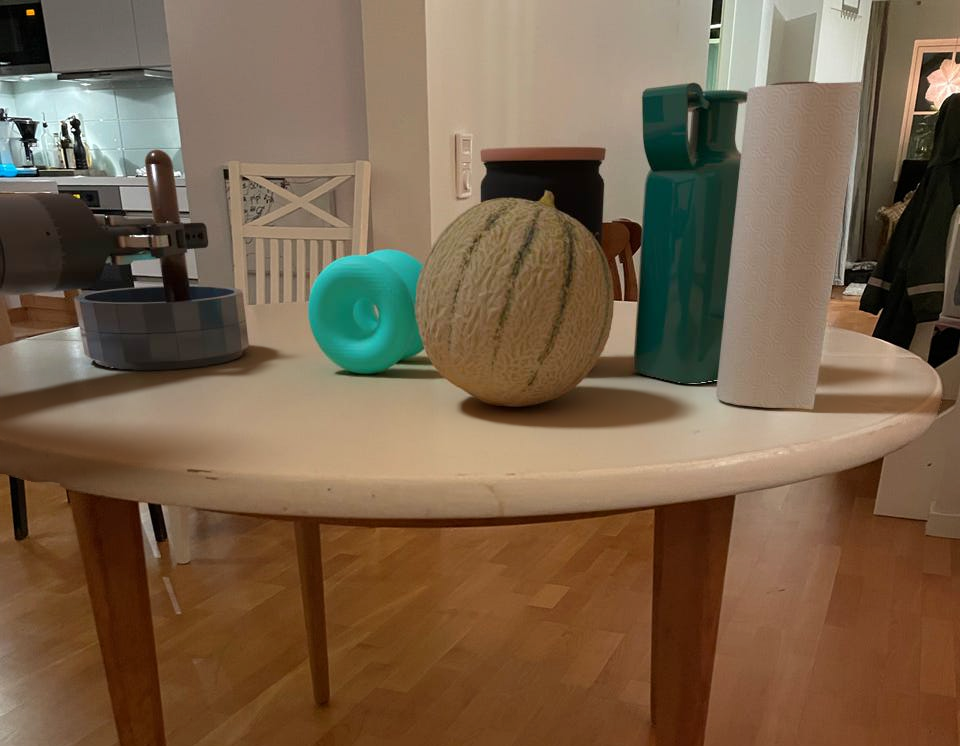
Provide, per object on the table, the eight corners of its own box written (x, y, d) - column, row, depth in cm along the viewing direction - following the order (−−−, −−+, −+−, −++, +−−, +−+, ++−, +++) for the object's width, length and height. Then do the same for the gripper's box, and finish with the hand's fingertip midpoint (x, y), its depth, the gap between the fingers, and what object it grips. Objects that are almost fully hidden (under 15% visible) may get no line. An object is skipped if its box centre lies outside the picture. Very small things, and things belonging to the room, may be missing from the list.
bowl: (58, 371, 86) (44, 303, 83) (125, 344, 100) (115, 285, 97) (222, 372, 85) (213, 303, 82) (267, 344, 99) (260, 285, 96)
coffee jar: (512, 381, 79) (513, 146, 71) (463, 362, 88) (460, 150, 80) (617, 371, 83) (630, 146, 75) (561, 353, 92) (567, 150, 84)
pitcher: (691, 362, 87) (716, 93, 77) (760, 376, 81) (796, 85, 71) (611, 373, 82) (627, 89, 73) (677, 389, 76) (704, 80, 66)
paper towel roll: (706, 393, 75) (736, 87, 65) (779, 392, 75) (820, 87, 65) (733, 413, 68) (771, 77, 59) (813, 412, 68) (864, 77, 59)
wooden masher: (144, 351, 88) (110, 148, 81) (166, 341, 94) (137, 150, 86) (205, 351, 88) (177, 148, 80) (224, 341, 93) (200, 150, 86)
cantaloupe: (379, 407, 71) (367, 192, 64) (500, 378, 81) (501, 189, 74) (529, 437, 62) (534, 192, 56) (645, 401, 72) (660, 189, 65)
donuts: (307, 374, 84) (297, 255, 79) (352, 355, 92) (344, 248, 88) (410, 379, 81) (405, 257, 77) (446, 359, 90) (443, 248, 85)
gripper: (72, 194, 71) (240, 191, 83) (-29, 194, 77) (140, 191, 90) (91, 297, 74) (249, 279, 87) (-7, 288, 81) (153, 273, 94)
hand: (193, 234), depth 89 cm, fingers closed on wooden masher, 2 cm apart
